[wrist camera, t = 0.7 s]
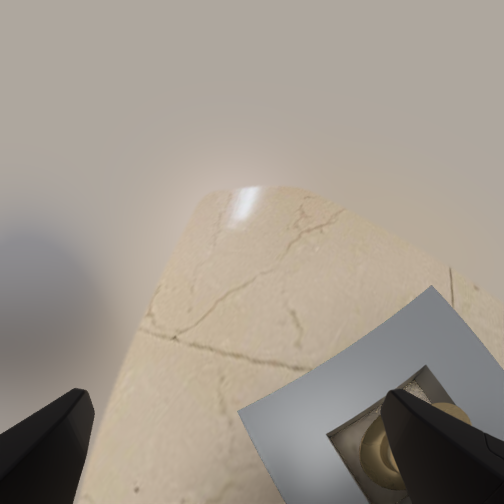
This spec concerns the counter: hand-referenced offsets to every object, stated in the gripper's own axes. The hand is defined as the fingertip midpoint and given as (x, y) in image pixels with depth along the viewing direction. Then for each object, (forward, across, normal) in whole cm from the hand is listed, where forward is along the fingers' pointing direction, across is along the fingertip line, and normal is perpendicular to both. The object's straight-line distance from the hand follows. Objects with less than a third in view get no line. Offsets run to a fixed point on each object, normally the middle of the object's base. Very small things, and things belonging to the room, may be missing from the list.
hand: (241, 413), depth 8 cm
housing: (+5, -12, +11) cm, 17 cm away
